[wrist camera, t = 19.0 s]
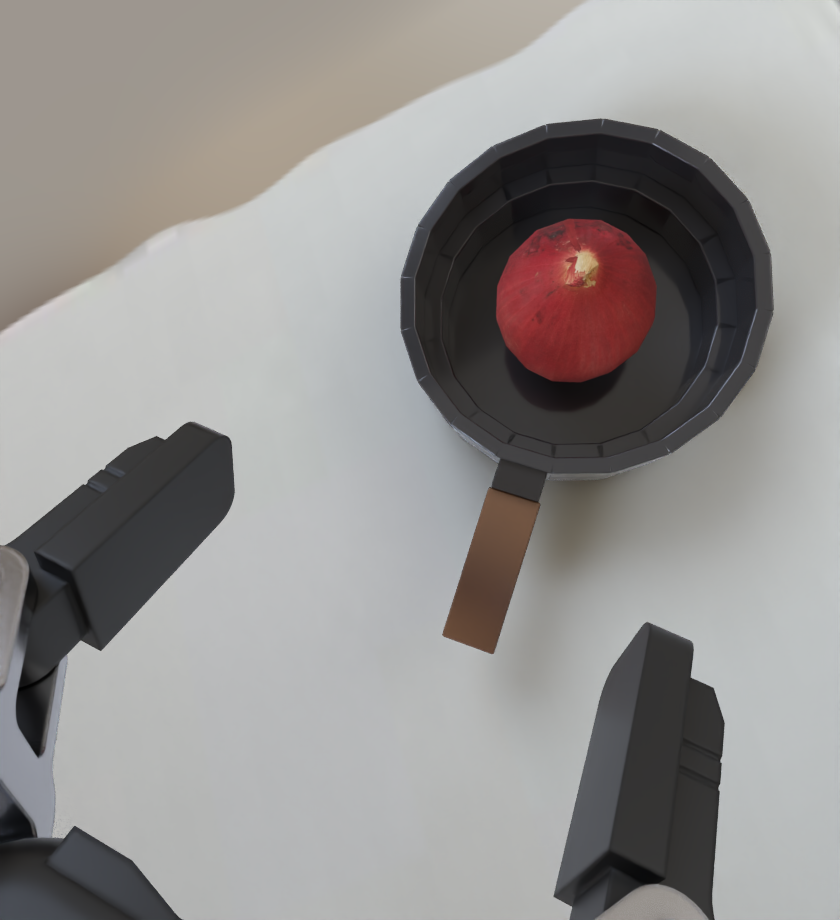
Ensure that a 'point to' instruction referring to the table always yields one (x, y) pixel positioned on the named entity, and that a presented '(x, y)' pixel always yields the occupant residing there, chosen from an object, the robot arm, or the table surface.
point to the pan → (676, 314)
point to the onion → (576, 300)
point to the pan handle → (495, 556)
